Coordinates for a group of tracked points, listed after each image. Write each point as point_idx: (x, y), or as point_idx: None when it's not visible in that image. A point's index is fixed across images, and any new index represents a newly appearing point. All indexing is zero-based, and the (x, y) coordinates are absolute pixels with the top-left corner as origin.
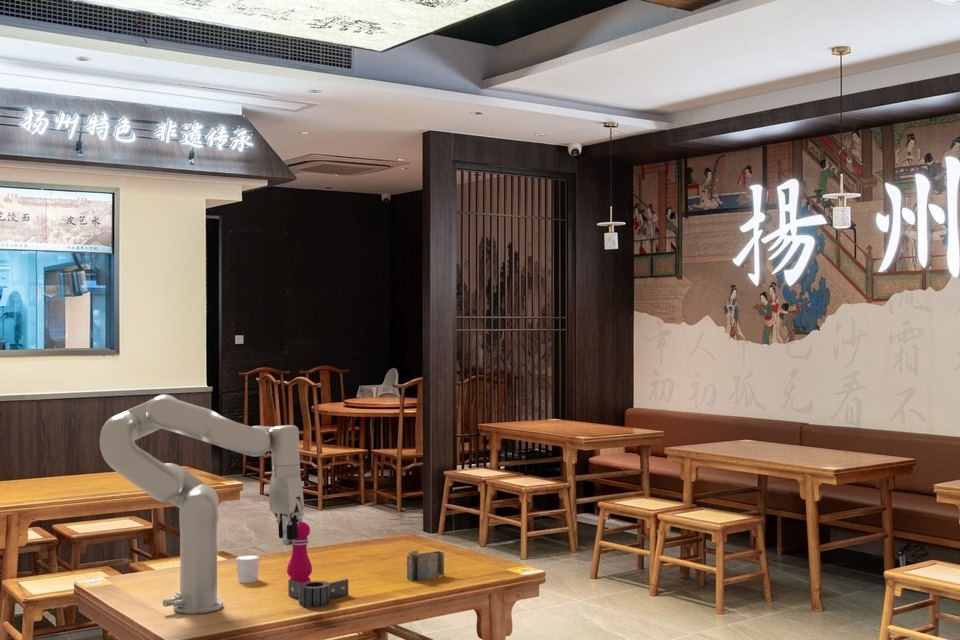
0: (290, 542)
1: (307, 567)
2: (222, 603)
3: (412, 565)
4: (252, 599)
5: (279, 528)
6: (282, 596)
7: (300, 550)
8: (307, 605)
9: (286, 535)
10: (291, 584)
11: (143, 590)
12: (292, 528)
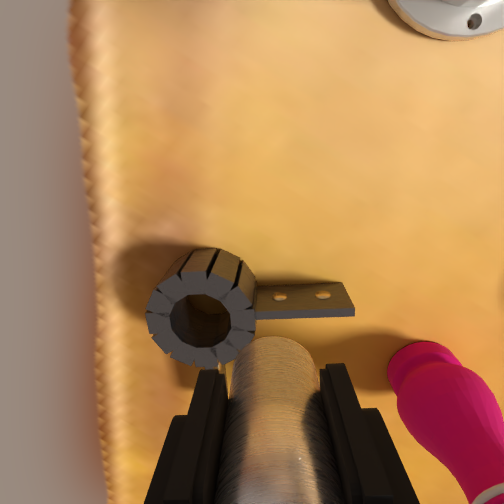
0: (233, 376)
1: (407, 421)
2: (405, 13)
3: None
4: (402, 174)
5: (350, 436)
6: (352, 267)
7: (467, 470)
8: (185, 255)
9: (243, 398)
10: (332, 302)
11: None
12: (152, 489)
